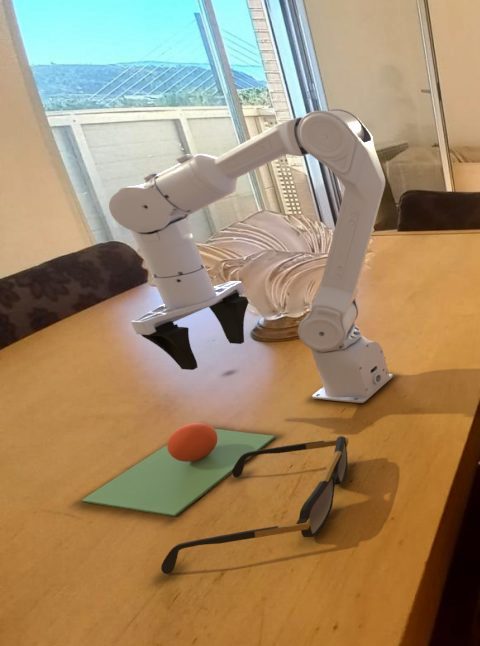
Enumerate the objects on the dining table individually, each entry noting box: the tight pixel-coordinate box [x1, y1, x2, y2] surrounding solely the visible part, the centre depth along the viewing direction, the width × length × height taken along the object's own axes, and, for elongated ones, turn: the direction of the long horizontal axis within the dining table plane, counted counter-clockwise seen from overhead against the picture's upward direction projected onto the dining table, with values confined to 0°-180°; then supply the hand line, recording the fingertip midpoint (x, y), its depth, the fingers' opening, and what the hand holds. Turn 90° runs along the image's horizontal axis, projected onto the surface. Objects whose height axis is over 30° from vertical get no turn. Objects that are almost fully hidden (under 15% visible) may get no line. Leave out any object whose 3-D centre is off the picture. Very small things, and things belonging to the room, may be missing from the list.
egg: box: [166, 422, 217, 462], centre depth 63 cm, size 5×5×5 cm
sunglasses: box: [160, 435, 349, 575], centre depth 55 cm, size 14×15×5 cm
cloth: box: [81, 428, 276, 517], centre depth 63 cm, size 14×14×1 cm
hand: (214, 354), depth 72 cm, fingers open, 7 cm apart
